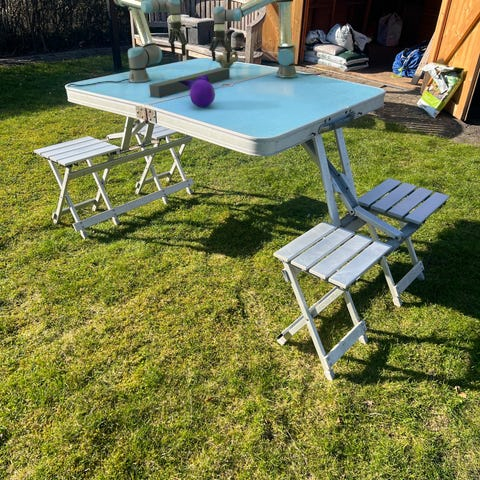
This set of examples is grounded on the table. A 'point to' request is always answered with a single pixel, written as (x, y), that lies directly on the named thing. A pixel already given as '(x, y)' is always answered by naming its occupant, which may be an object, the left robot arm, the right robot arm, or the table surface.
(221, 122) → the table surface
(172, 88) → the wide block
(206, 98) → the toy
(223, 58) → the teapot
